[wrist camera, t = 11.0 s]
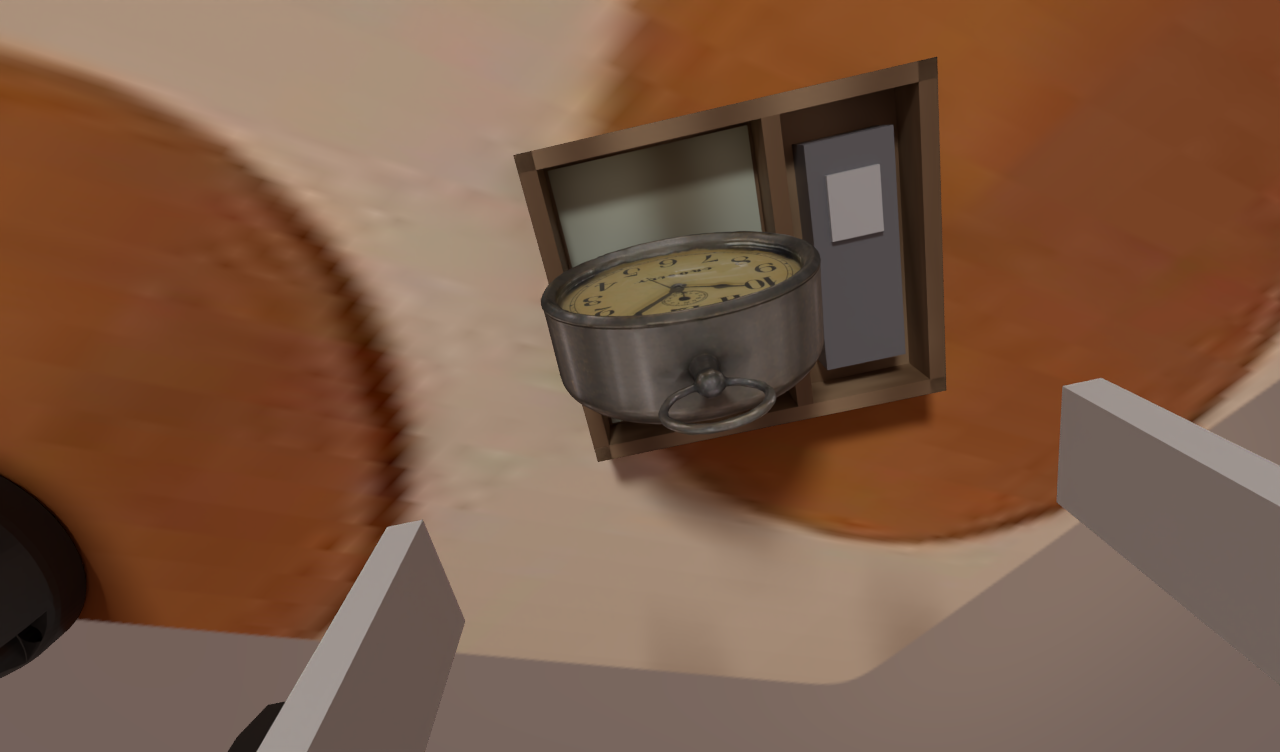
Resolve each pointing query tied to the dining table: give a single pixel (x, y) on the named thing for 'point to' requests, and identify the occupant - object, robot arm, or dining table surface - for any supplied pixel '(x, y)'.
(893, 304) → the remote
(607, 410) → the alarm clock
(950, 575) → the dining table surface
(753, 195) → the organizer tray
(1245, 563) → the robot arm
